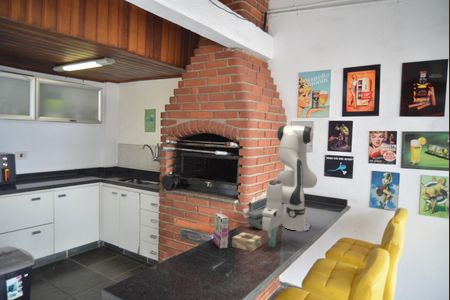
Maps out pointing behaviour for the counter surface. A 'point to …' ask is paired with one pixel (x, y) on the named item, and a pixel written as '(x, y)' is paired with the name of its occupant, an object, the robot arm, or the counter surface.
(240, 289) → the counter surface
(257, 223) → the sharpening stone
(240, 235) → the socket block
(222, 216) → the candy bar box
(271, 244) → the peg
